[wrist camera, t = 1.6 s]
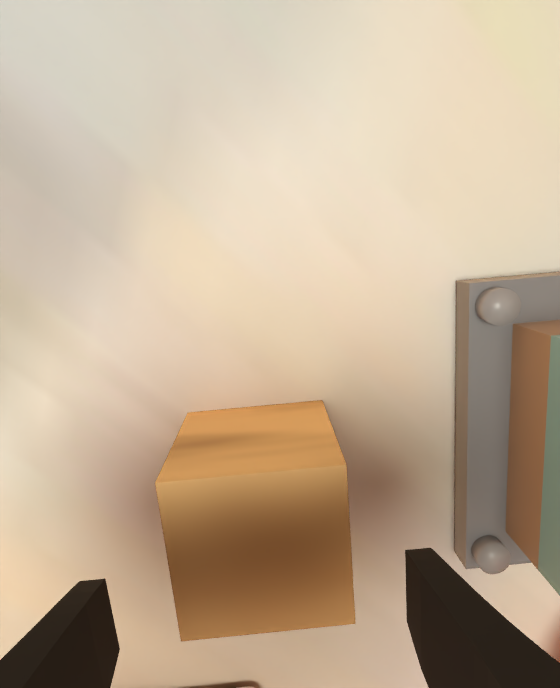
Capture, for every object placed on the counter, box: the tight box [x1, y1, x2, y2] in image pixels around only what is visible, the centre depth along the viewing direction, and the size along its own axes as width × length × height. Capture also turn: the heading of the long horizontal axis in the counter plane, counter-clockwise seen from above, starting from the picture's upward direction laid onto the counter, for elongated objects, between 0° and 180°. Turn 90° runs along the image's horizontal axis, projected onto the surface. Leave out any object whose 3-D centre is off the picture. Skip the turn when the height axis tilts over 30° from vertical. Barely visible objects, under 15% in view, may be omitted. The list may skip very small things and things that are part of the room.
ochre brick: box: [155, 400, 355, 641], centre depth 14 cm, size 5×5×5 cm
